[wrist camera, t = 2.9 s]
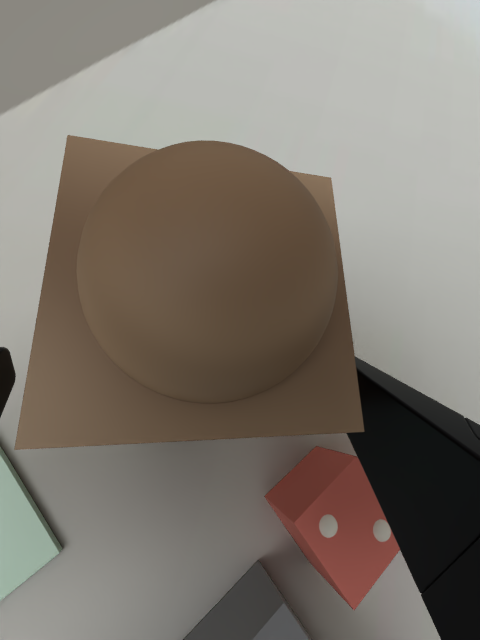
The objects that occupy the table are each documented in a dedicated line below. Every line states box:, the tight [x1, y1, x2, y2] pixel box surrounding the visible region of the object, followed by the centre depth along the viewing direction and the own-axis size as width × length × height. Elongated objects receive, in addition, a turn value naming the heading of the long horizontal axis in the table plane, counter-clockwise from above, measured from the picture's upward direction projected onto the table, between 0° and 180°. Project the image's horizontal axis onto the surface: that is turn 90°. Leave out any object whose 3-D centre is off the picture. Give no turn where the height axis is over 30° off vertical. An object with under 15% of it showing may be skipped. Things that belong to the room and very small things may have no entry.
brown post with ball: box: [14, 135, 364, 450], centre depth 10 cm, size 4×4×15 cm
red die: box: [264, 446, 400, 610], centre depth 14 cm, size 4×4×4 cm
